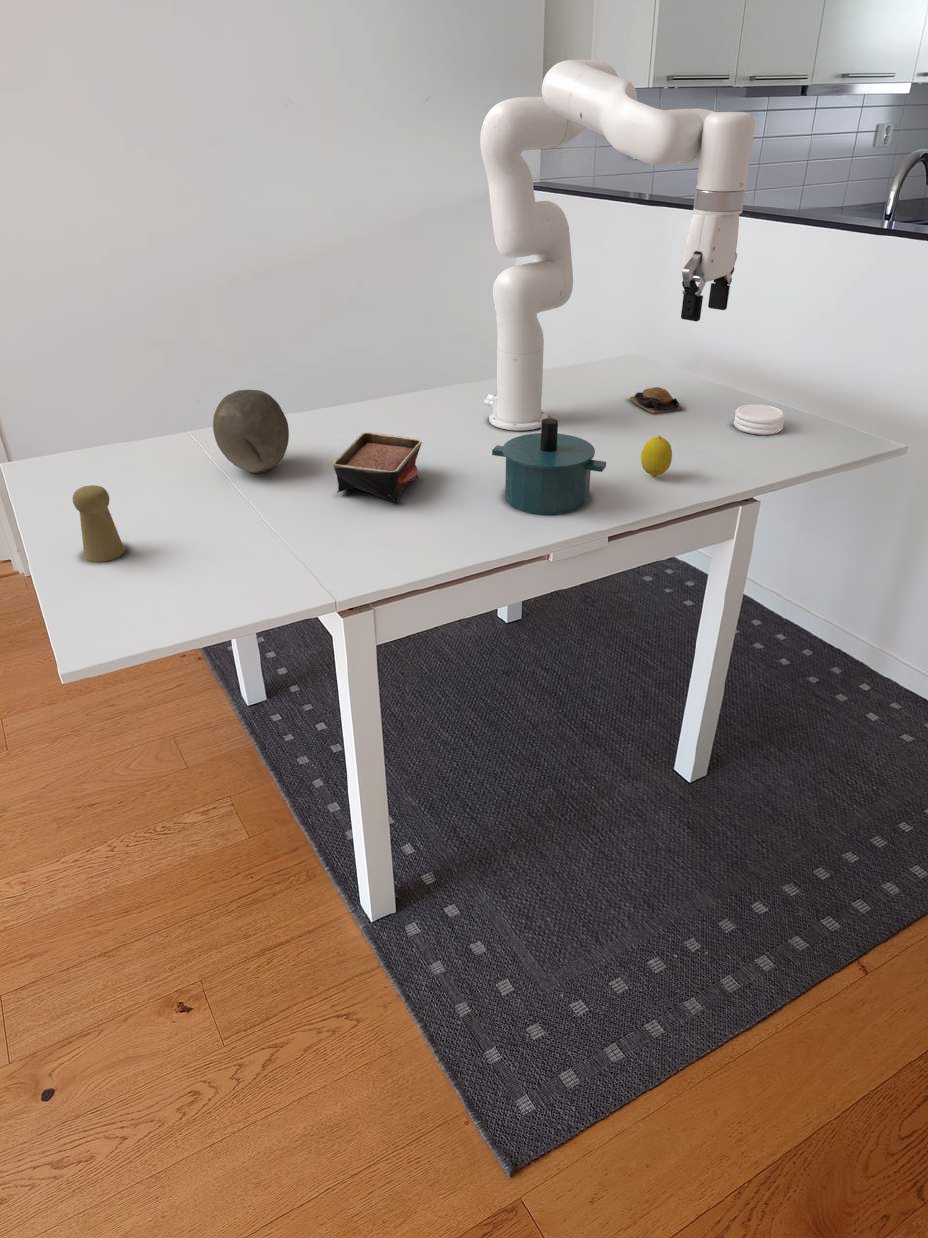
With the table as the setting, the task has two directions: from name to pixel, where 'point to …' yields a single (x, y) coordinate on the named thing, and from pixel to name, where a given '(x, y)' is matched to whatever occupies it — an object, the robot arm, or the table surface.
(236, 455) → the grey river stone
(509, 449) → the pot lid
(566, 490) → the pot
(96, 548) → the cork
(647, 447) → the lemon
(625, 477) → the table surface
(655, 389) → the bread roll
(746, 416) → the white round flat cylinder
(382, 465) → the square planter
